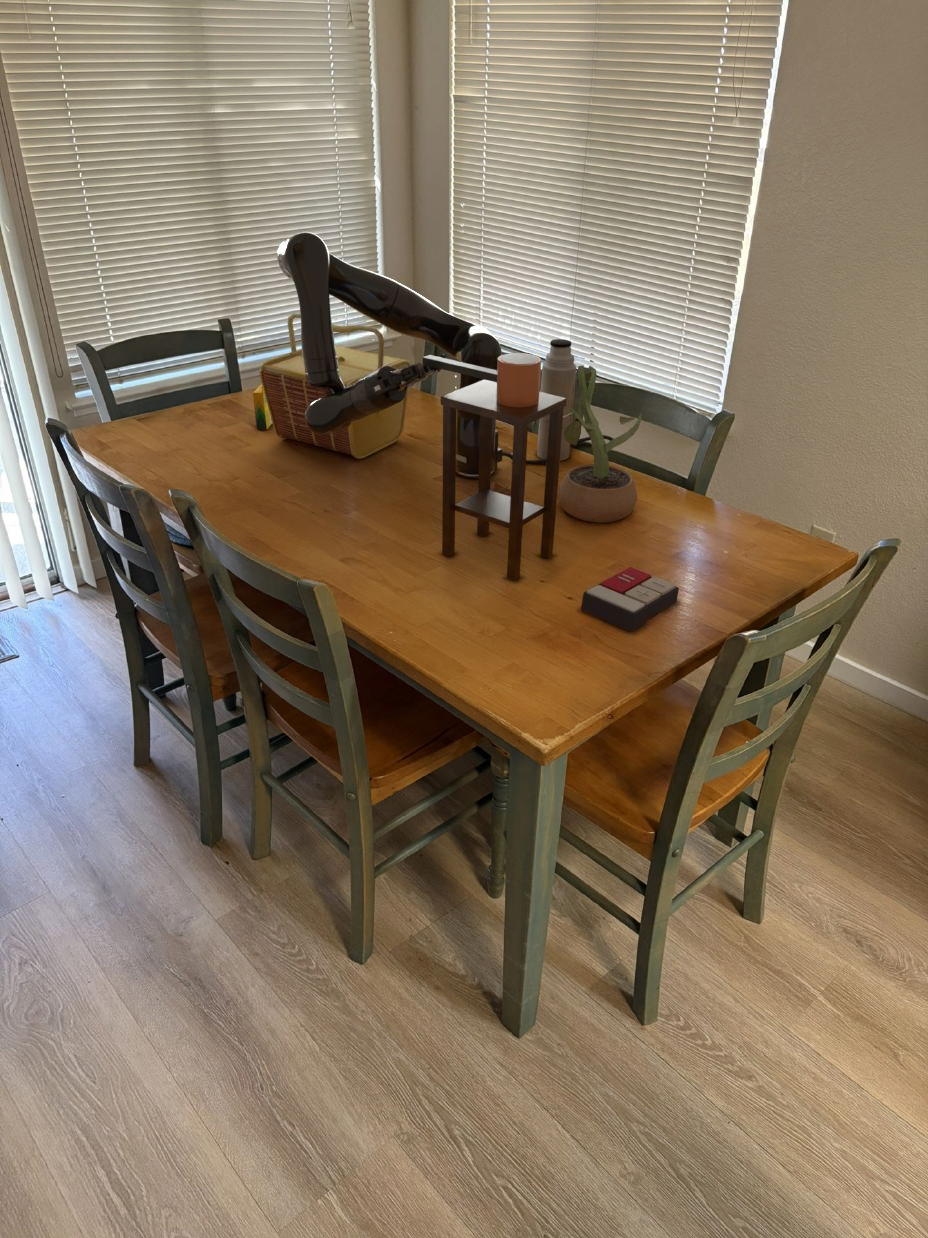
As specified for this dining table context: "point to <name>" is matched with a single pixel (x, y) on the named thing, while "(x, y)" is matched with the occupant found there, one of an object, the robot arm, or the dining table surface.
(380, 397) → the robot arm
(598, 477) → the potted plant
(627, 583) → the calculator
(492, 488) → the fruit slice
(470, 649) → the dining table surface
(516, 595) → the dining table surface
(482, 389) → the plant stand
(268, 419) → the crayon box
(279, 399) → the picnic basket
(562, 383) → the thermos bottle
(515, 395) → the dipper cup
